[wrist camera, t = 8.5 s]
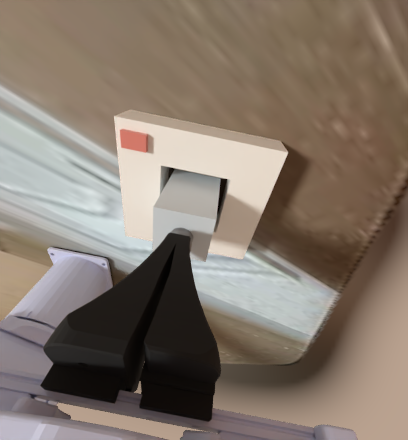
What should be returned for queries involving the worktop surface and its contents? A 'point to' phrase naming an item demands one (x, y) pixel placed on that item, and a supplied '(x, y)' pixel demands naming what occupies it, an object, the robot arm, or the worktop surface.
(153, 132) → the socket box
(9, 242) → the worktop surface
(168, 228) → the plug
